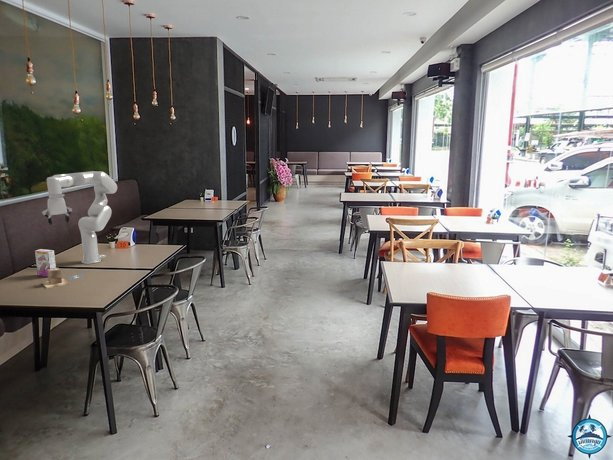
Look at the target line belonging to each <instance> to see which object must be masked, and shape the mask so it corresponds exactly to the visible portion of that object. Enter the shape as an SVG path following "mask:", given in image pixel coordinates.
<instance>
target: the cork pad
mask: <svg viewBox="0 0 613 460" xmlns="http://www.w3.org/2000/svg"><path fill="white" fill-rule="evenodd" d="M41 284H42V285H43V286H44V288H45V289H50V288H56V287H62V286H66V285H70V284H69V282H68V281H67V280H66V279H65V278H62V283H58V284H53V285H51V284H50V283H49V281H48V280H47V281H43V282H41Z"/></svg>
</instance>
